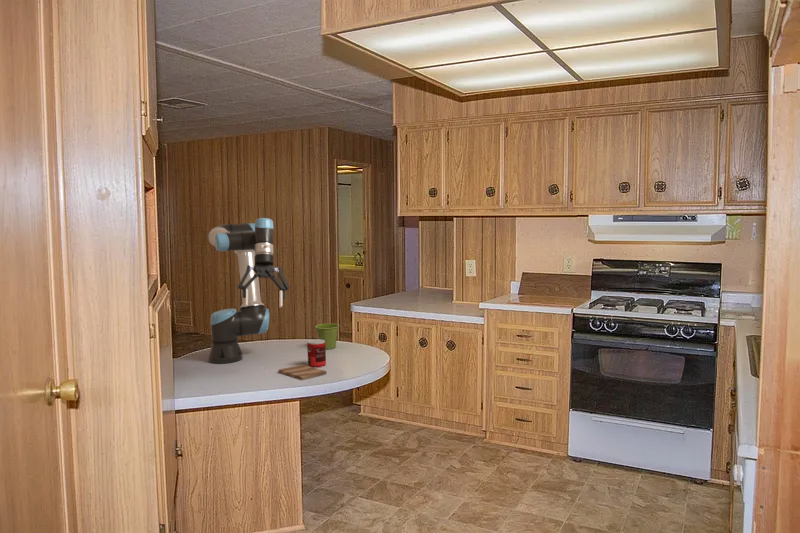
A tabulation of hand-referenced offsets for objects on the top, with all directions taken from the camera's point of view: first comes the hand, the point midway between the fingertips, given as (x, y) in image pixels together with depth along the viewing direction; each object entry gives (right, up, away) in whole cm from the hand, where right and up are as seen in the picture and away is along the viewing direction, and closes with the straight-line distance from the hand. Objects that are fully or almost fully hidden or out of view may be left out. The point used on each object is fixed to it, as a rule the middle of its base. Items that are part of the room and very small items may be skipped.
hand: (263, 306), depth 242 cm
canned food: (+18, -28, +27) cm, 43 cm away
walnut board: (+13, -29, +14) cm, 35 cm away
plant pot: (+19, -25, +61) cm, 68 cm away
